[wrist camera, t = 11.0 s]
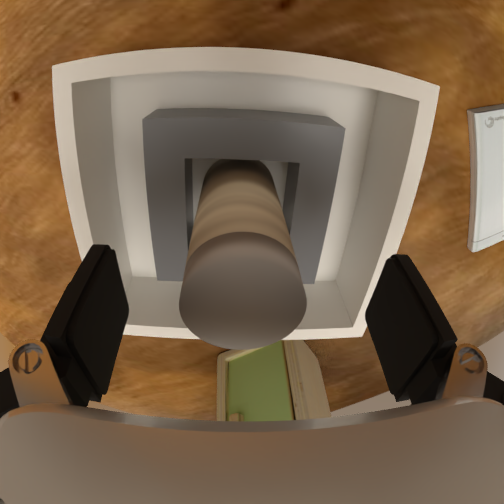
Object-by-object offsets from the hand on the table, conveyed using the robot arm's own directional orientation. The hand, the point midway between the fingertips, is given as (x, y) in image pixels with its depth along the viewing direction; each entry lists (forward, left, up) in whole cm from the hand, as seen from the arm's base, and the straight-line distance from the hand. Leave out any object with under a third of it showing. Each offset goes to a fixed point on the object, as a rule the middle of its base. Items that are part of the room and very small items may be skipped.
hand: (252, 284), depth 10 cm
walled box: (+1, 0, -10) cm, 10 cm away
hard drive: (-3, +21, -11) cm, 24 cm away
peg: (+1, 0, -9) cm, 9 cm away
